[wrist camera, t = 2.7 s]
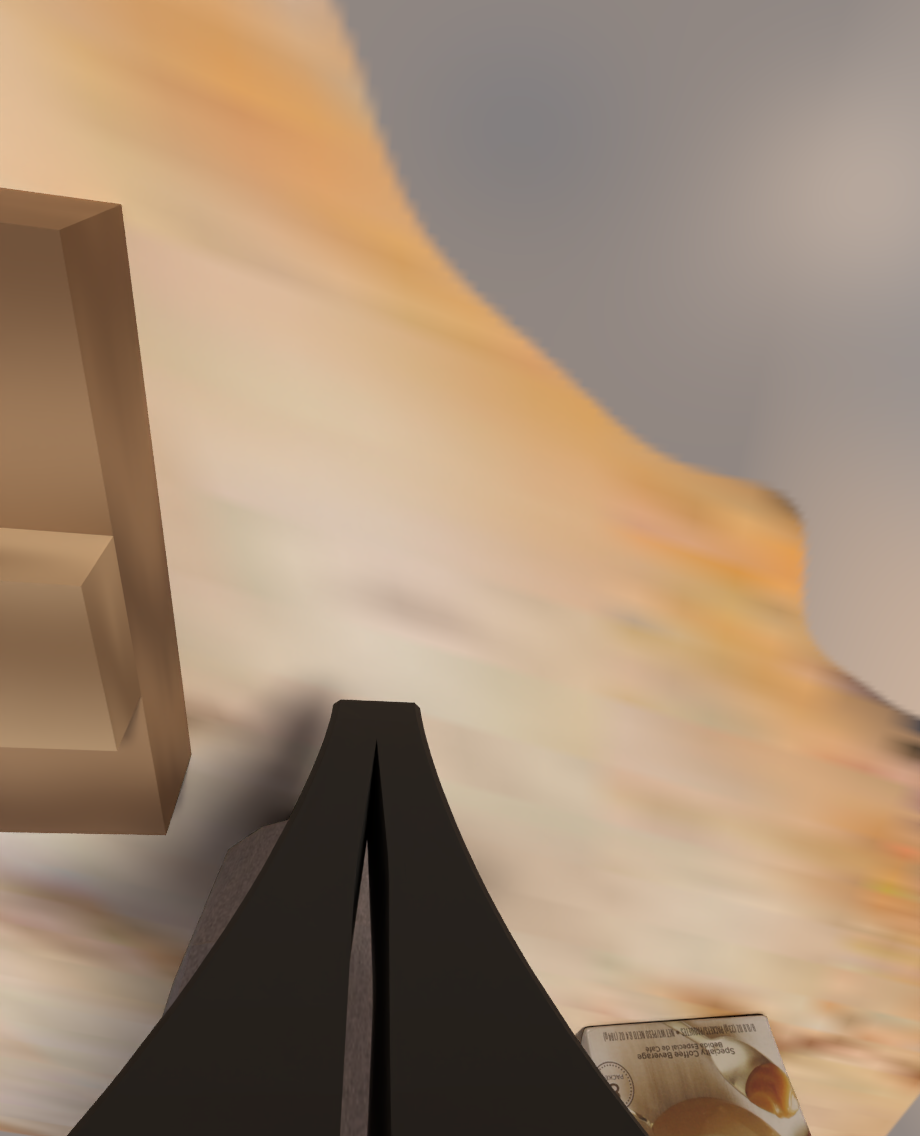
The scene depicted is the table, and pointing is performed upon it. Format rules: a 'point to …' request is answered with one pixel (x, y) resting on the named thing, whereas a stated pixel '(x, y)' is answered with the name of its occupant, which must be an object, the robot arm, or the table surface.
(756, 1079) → the coffee box
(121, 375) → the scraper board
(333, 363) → the table surface
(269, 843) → the grey rounded bag
